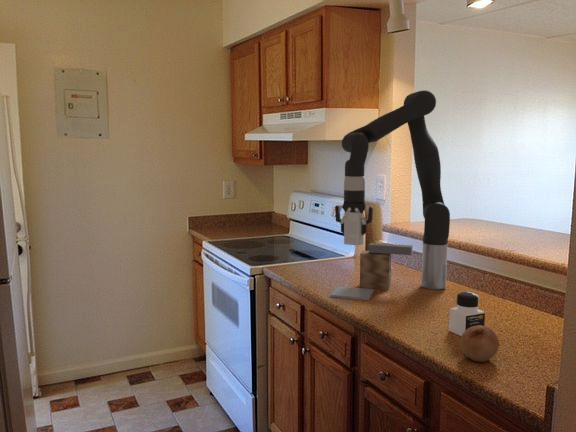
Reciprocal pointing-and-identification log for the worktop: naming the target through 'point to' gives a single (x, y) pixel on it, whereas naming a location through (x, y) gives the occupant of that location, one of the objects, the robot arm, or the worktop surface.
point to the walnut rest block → (375, 270)
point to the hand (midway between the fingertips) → (353, 233)
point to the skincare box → (353, 229)
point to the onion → (479, 343)
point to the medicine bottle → (465, 313)
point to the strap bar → (390, 249)
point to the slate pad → (352, 293)
